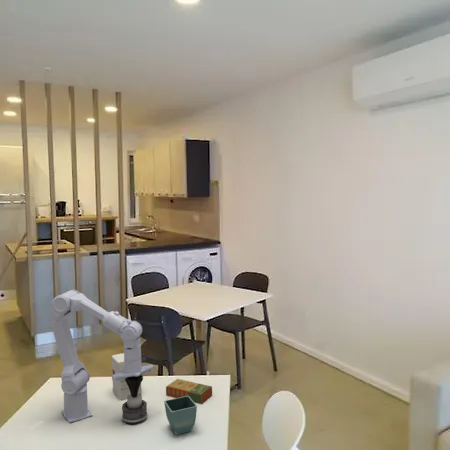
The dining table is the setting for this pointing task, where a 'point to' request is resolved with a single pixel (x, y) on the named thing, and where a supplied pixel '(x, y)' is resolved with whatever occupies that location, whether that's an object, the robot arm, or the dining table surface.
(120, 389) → the supplement box
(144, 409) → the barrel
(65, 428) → the dining table surface
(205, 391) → the carton
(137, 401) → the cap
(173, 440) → the dining table surface
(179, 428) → the flower pot
